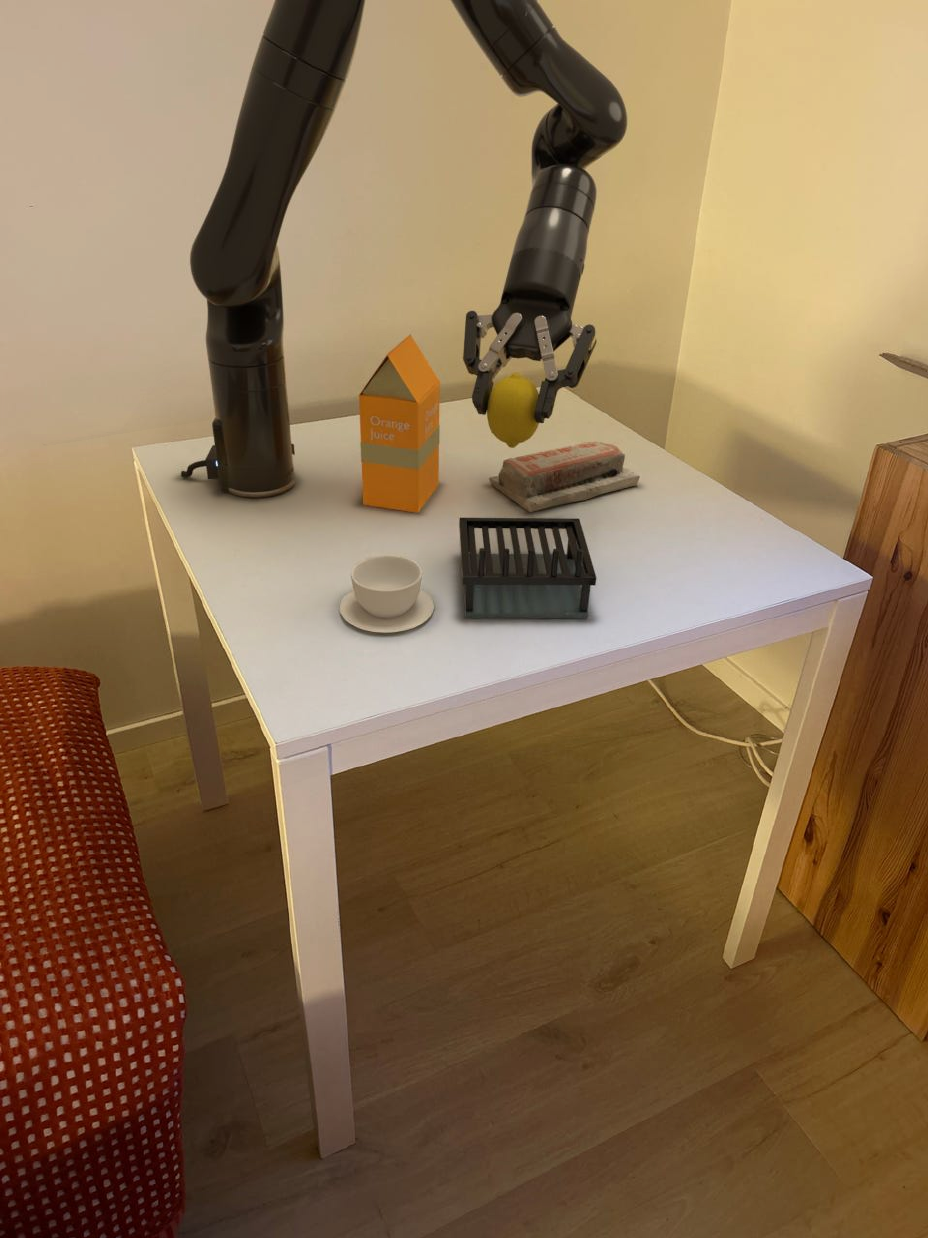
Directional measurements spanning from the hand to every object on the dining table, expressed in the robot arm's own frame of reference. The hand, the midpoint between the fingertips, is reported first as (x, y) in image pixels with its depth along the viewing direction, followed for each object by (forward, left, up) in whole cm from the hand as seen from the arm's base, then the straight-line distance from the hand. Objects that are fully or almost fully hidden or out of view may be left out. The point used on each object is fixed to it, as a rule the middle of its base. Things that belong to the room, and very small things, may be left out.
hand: (509, 414), depth 94 cm
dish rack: (+2, -1, -20) cm, 20 cm away
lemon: (+1, +2, -4) cm, 5 cm away
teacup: (-13, -6, -20) cm, 24 cm away
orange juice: (-12, +22, -20) cm, 31 cm away
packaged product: (+10, +25, -20) cm, 33 cm away
